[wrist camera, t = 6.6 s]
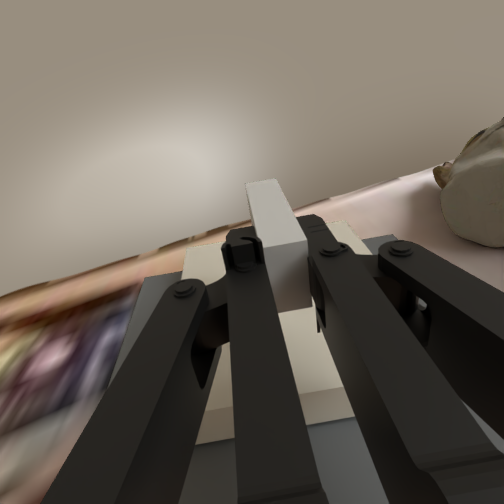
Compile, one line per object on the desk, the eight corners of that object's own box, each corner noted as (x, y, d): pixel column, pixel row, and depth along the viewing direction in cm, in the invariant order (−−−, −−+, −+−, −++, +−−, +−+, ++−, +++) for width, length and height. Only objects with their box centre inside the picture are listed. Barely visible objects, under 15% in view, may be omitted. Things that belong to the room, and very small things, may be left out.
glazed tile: (453, 403, 14) (345, 246, 27) (462, 365, 13) (345, 220, 25) (173, 453, 14) (193, 273, 27) (158, 419, 13) (186, 247, 25)
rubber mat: (392, 240, 28) (392, 234, 27) (622, 478, 12) (630, 469, 12) (147, 283, 27) (144, 277, 27) (52, 579, 12) (45, 572, 12)
